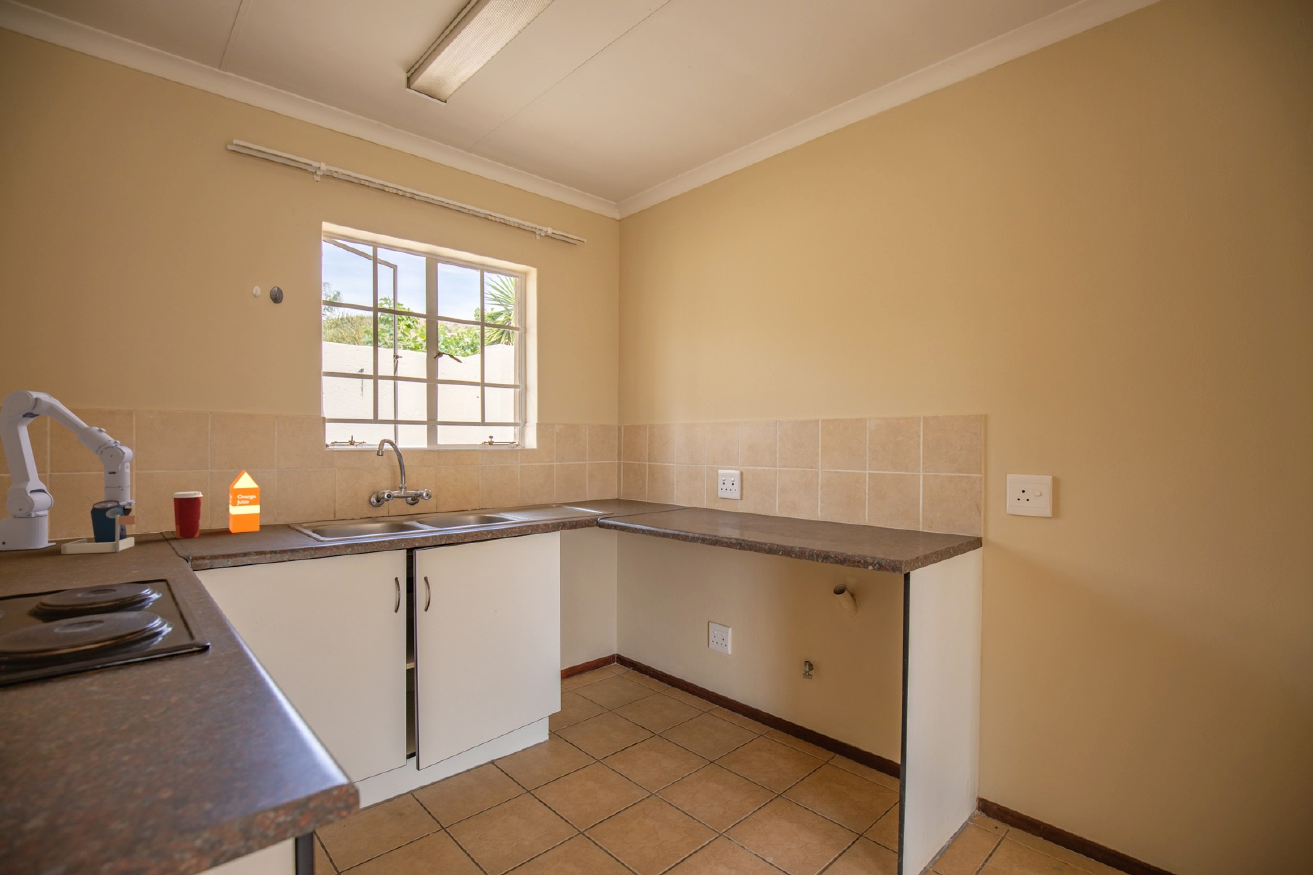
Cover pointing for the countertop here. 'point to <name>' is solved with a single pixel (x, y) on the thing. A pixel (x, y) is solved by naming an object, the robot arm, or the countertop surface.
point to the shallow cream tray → (116, 546)
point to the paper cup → (187, 514)
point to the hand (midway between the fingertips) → (117, 533)
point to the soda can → (107, 521)
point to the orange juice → (244, 504)
